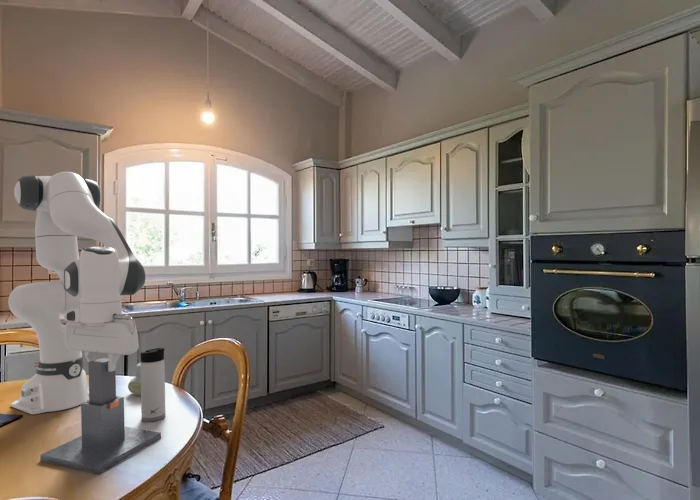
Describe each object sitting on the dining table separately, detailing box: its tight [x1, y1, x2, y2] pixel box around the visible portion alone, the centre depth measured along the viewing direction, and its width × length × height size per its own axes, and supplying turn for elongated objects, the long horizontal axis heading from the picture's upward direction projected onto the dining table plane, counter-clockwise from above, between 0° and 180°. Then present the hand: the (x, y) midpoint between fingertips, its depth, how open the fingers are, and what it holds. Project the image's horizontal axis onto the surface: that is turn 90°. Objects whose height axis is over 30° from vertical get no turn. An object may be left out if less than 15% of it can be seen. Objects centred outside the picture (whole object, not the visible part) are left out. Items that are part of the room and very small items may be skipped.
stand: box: [39, 395, 162, 475], centre depth 104 cm, size 18×18×12 cm
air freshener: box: [127, 362, 141, 397], centre depth 144 cm, size 11×8×10 cm
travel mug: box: [139, 347, 166, 423], centre depth 123 cm, size 6×7×20 cm
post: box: [87, 357, 117, 405], centre depth 104 cm, size 4×4×16 cm
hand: (102, 369), depth 104 cm, fingers open, 4 cm apart
